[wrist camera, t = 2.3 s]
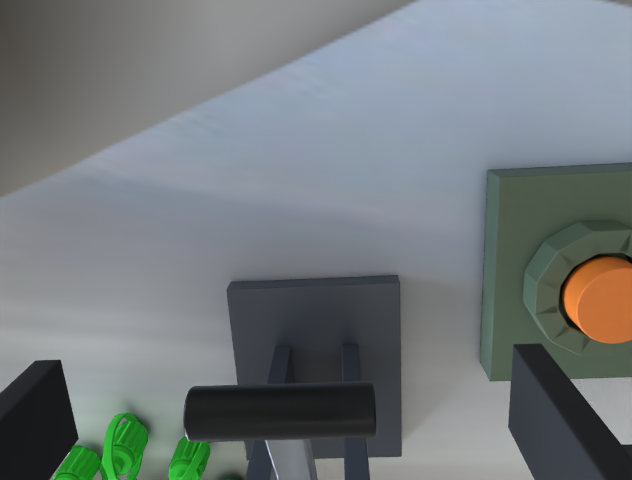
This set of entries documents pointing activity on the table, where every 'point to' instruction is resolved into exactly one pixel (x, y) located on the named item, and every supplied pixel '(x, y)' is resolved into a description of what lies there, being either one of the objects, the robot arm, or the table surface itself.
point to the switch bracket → (322, 353)
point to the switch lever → (282, 418)
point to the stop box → (550, 262)
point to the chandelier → (131, 455)
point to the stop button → (601, 299)
